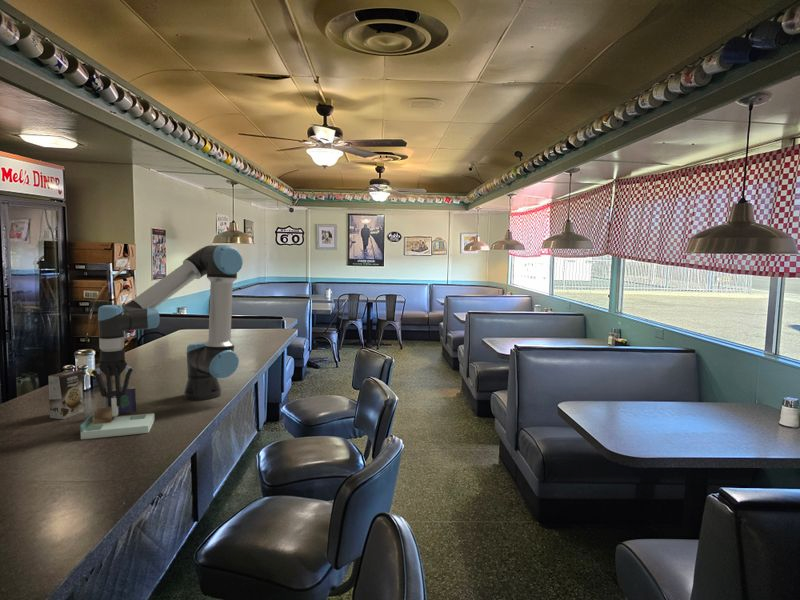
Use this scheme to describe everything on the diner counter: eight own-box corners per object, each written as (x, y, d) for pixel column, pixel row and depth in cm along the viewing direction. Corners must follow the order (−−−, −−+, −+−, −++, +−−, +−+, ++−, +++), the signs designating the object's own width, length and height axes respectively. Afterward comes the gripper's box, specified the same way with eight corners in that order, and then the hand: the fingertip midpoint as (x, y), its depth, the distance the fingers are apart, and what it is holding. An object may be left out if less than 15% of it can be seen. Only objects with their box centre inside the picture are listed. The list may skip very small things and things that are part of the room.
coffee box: (64, 419, 182) (61, 376, 181) (49, 418, 183) (47, 375, 182) (84, 412, 191) (82, 370, 189) (70, 410, 192) (68, 370, 191)
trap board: (154, 419, 182) (154, 408, 182) (148, 432, 169) (147, 420, 169) (92, 425, 176) (91, 413, 175) (80, 439, 163) (80, 426, 162)
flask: (106, 416, 186) (105, 386, 185) (106, 414, 188) (105, 384, 187) (136, 412, 191) (135, 383, 190) (136, 410, 193) (135, 381, 192)
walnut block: (114, 417, 177) (113, 406, 176) (111, 422, 172) (110, 411, 172) (98, 419, 175) (97, 408, 175) (94, 423, 170) (94, 412, 170)
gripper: (135, 346, 179) (137, 410, 181) (93, 348, 174) (96, 413, 177) (131, 350, 172) (133, 416, 174) (87, 352, 167) (91, 420, 169)
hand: (115, 415), depth 175 cm, fingers closed
